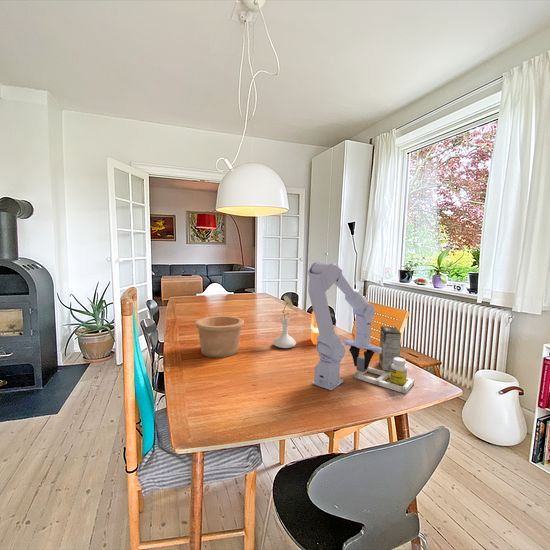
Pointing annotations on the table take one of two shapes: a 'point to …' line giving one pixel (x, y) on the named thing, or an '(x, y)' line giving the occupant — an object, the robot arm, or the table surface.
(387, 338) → the coffee box
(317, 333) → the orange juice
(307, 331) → the table surface
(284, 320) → the flower in vase
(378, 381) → the slotted grey tray
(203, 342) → the pottery
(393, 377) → the supplement bottle
